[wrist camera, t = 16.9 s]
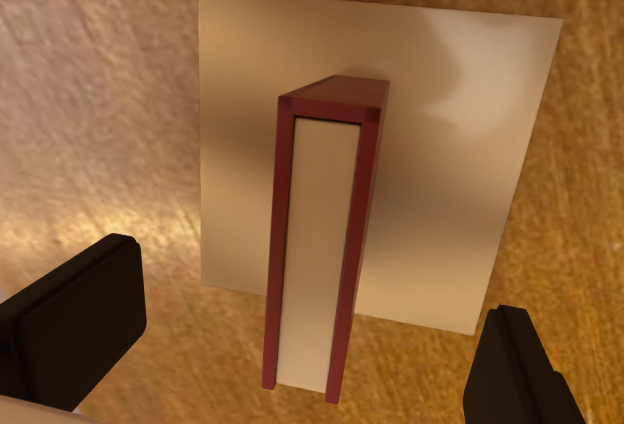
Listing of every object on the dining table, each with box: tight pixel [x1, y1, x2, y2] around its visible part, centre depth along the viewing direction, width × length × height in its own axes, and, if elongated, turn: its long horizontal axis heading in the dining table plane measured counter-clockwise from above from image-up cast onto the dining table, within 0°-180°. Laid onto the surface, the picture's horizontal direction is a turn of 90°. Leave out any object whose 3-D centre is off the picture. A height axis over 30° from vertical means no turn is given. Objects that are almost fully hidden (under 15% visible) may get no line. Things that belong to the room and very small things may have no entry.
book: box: [262, 75, 390, 404], centre depth 19 cm, size 11×3×11 cm, turn 175°
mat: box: [198, 0, 564, 336], centre depth 24 cm, size 18×18×1 cm
